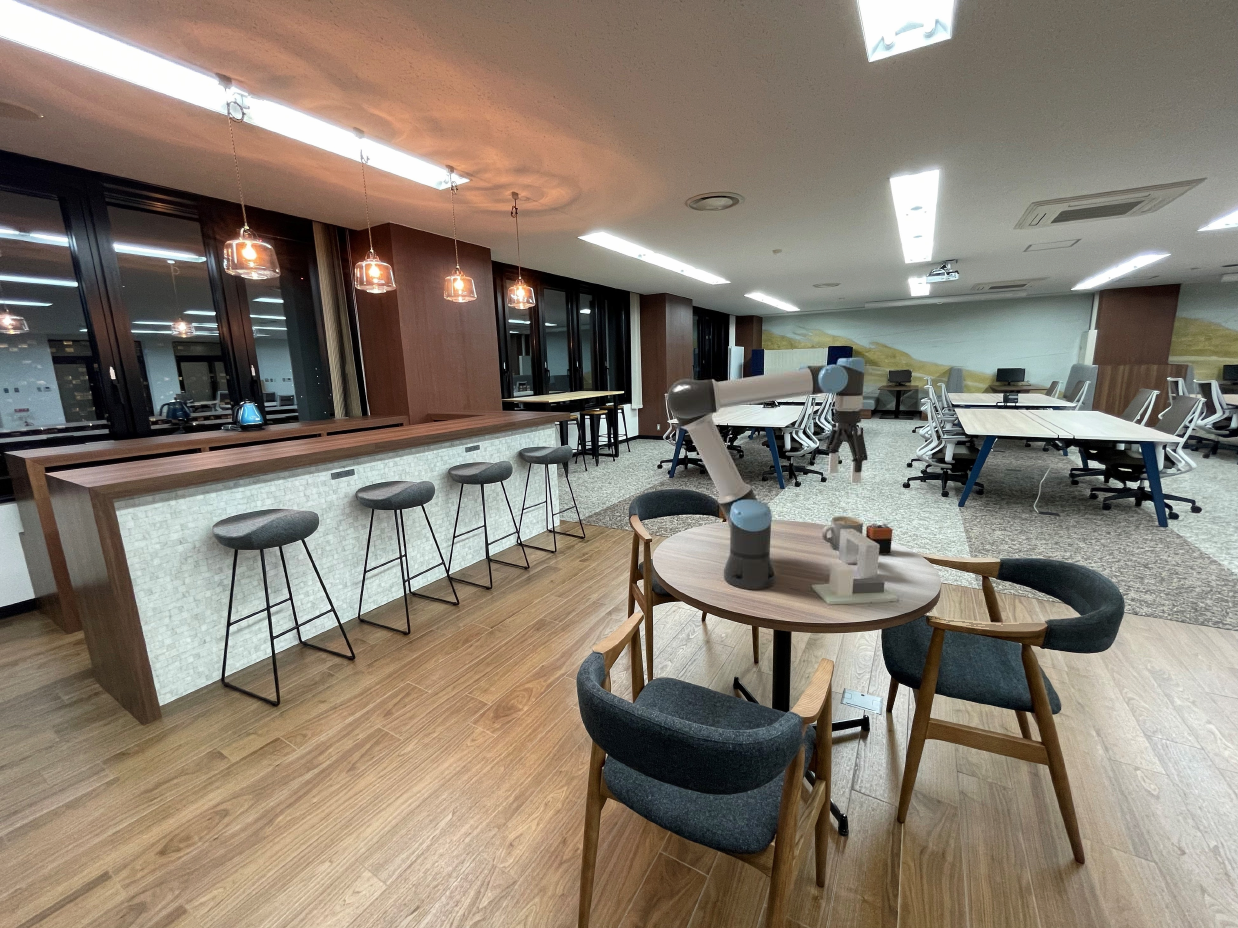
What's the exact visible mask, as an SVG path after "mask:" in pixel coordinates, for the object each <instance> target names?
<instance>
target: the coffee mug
mask: <svg viewBox="0 0 1238 928" xmlns="http://www.w3.org/2000/svg"><path fill="white" fill-rule="evenodd" d="M863 526H864V521H863V520H862V519H860V518H858V517H853V516H845V515H844V516H843V515H838V516H834V517H832V518H831V523H830V525H826V526H824V527H823V528H822V531H821V536H822V539H823V541H825V542H826V543H829V547H830V548H831V549H833V550H835V551H838V552H839V547H840V531H841V529H854V530H856V531H857V532H859V533H861V534H862V535H863ZM829 531H830V536H829V537H828V533H829ZM858 548H859V545H858Z"/></svg>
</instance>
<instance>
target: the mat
mask: <svg viewBox="0 0 1238 928" xmlns="http://www.w3.org/2000/svg"><path fill="white" fill-rule="evenodd" d="M811 589H812V590H814V592H815V593H817V594H818V596H820V598H821V599H823V601H825V603H827V604H828V605H847V604H848V605H849V604H850V605H851V604H867V603H870V602H872V603H889V602H890V601H893V602H898V600H899V599H898V597H897V596H896V595H894V593H892V592H890V591H889V590H888V589H887V588H885V587H884V592H881V593H858V594H852V596H837V595H836V594H835V593H834V592H833V591H832V590H831V589H830V588H829V583H824V584H822V583H821V584H812V585H811ZM870 604H871V603H870Z"/></svg>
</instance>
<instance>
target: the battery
mask: <svg viewBox="0 0 1238 928" xmlns="http://www.w3.org/2000/svg"><path fill="white" fill-rule="evenodd" d="M865 533H866V534H865V537H867V538H869V539H870V540H872V541H874V542H875V543H877V544H879V545H880V546H879V555H890V554H891V553H892V552H891V551H892V540H893V528H892V527H890V526H888V524H886V523H882V524H878V523H871V524H870V525H869V524H868V525H867V526H866V530H865Z"/></svg>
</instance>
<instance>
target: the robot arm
mask: <svg viewBox="0 0 1238 928" xmlns="http://www.w3.org/2000/svg"><path fill="white" fill-rule="evenodd" d="M865 362H866V361H865V359H864V358H863V357H848V358H845V357H843V358H842V357H841V358H838V360H837V362H836V364H829V365H827V364H826V365H801V366H798V367H797V368H796V369H794V370H788V371H782V372H774V373H769V374H762V375H761V374H760V375H755V376H750V377H749V376H748V377H742V378H736V379H730V380H723V381H716V380H715V379H713V378H712V379H704V380H695V379H693V378H682V379H679V380H677V381H675V382H674V383H673V384H672V385H671V387H670V388H669V390H668V394H667V406H668V408H669V411H671V413H673V414H674V417H675V420H676V421H677V423H678V424H679V427H680V428H681V429H684V430H685V431H687V432H688V433H689V436H690V438H691V440H692V442H693V444H694V446H695V447H696V451H697V452H698V454H699V456H700V458H701V461H702V462H703V464H704V466H705V468H706V470H707V472H708V474H709V477H710V478H711V480H712V482H713V484H714V486H715V488H716V491H717V492H718V494H719V495H718V499H717V503H718V505H719V507H720V509H721V511H722V513H723V515H724V517H725V520H726V521H727V523H728V527H729V531H730V535H729V539H730V540H729V542H730V543H729V554H728V558H727V560H726V563H725V565H724V567H723V579H724V581H725V582H726V583H728V584H730V585H732V586H733V587H737V588H740V589H745V590H763V589H768V588H771V587H772V586H774V584H775V583H776V572H775V568H774V566H773V563H772V560H771V533H772V531H771V530H772V519H773V517H772V516H773V515H772V510H771V508H770V506H769V505H768V504H767V503H765V502H762V501H761V500H758V497H756V494H755V492H754V490H753V488H752V486H751V485H750V484H747V483H745V482H744V481H743V478H742V477H741V475H740V473H739V470H738V468H737V466H736V464H735V462H734V460H733V458H732V456H731V454H730V452H729V450H728V448H727V446H726V444H725V442H724V440H723V437H722V436H721V434H720V432H719V430H718V427H717V426H716V424H715V421H714V419H713V414H717V413H718V412H719V411H720V409H726V408H733V407H741V406H745V405H753V404H760V403H765V402H772V401H778V400H785V399H787V400H788V399H793V398H799V397H806V396H814V395H815V396H816V395H820V394H835V397H834V408H835V409H836V410H834V417H833V423H832V424H831V431H830V434H829V437H828V440H827V443H826V446H825V450H826V451H827V452H828V453H829V454H828V455H829V456H828V458H829V459H828V472H827V473H828V474H838V473H839V457H840V455H839V454H840V448H841V447H842V444H843V443H844V441H845V442H846V443H847V444H848V447H849V451H850V453H851V456H852V460H851V467H850V468H851V469H850V470H851V471H850V483H851V484H856V483H857V484H858V483H861V482H862V469H863V462H865V461H868V459H869V458H868V453H867V449H866V448H867V447H866V441H865V438H864V428H863V427H857V426H858V424H860V423H861V422H862V417H863V416H862V414H863V412H862V411H861V410H862V408H863V401H864V398H863V397H864V396H863V395H864V384H865V375H866V363H865Z"/></svg>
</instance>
